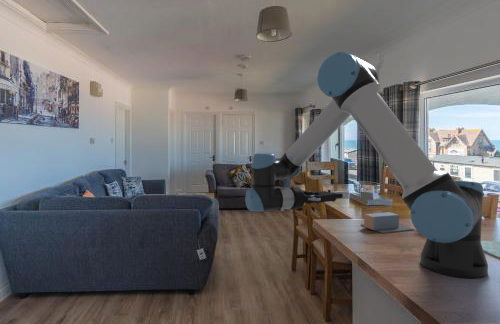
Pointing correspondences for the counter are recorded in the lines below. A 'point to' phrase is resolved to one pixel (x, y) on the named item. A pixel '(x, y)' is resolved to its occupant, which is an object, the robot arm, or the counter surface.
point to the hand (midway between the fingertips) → (347, 194)
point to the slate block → (381, 221)
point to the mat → (393, 229)
